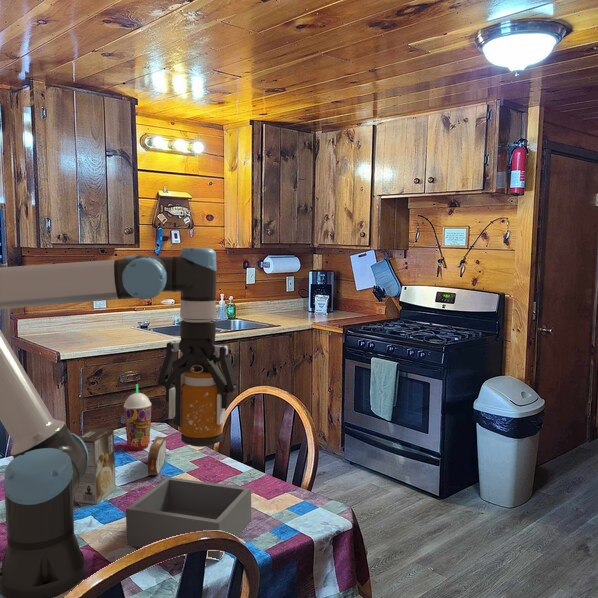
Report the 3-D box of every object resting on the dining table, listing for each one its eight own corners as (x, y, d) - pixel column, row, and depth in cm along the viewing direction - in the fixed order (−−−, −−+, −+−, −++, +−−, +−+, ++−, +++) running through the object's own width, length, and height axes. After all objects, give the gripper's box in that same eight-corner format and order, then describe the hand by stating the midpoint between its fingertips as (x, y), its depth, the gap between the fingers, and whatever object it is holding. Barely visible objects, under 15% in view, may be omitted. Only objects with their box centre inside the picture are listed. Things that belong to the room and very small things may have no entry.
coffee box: (93, 487, 153) (92, 427, 151) (116, 489, 152) (114, 429, 150) (73, 502, 144) (71, 439, 142) (97, 504, 143) (95, 441, 141)
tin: (157, 459, 172) (156, 432, 172) (168, 459, 173) (167, 431, 172) (146, 480, 157) (145, 450, 157) (158, 480, 158) (157, 450, 157)
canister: (223, 448, 125) (224, 355, 123) (170, 450, 123) (171, 356, 121) (221, 434, 134) (222, 348, 132) (172, 436, 132) (172, 348, 130)
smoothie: (137, 453, 177) (135, 389, 175) (118, 448, 181) (117, 385, 180) (158, 445, 184) (156, 383, 182) (139, 440, 188) (138, 380, 186)
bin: (219, 561, 118) (219, 523, 117) (126, 545, 124) (125, 508, 123) (251, 521, 134) (251, 488, 133) (168, 509, 140) (167, 477, 140)
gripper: (254, 320, 126) (252, 420, 128) (158, 314, 132) (158, 409, 134) (241, 325, 119) (239, 431, 121) (140, 318, 125) (140, 418, 127)
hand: (196, 419), depth 128 cm, fingers closed on canister, 11 cm apart
